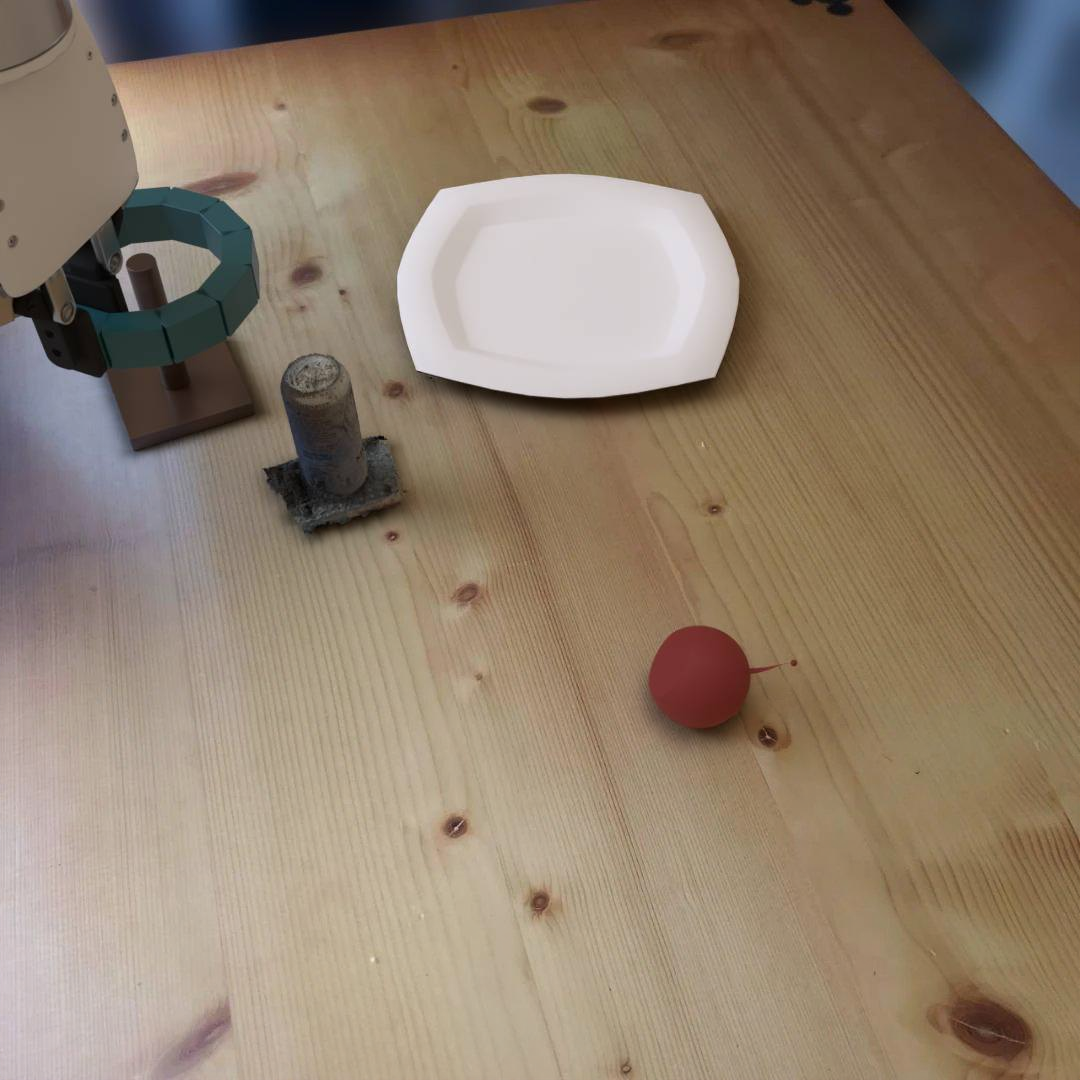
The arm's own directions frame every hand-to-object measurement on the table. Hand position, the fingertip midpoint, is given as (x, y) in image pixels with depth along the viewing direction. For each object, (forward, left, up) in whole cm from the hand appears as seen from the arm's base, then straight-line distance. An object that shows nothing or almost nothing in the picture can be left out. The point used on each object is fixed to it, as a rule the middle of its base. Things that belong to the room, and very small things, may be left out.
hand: (93, 349), depth 66 cm
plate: (+36, +19, -24) cm, 47 cm away
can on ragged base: (+13, +7, -24) cm, 28 cm away
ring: (+4, +3, 0) cm, 5 cm away
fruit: (+28, -19, -24) cm, 41 cm away
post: (+5, +21, -23) cm, 32 cm away
